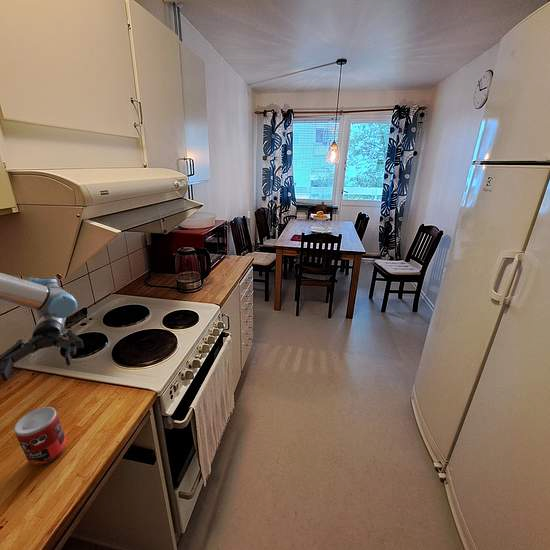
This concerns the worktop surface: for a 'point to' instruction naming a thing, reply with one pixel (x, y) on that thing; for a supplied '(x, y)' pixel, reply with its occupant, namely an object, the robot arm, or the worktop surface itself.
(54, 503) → the worktop surface
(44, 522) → the worktop surface
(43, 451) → the canned food
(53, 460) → the pad
